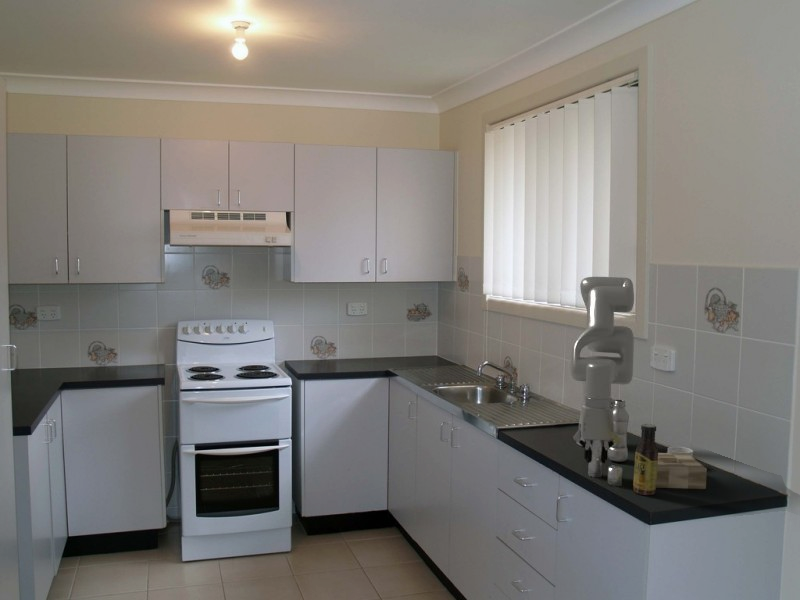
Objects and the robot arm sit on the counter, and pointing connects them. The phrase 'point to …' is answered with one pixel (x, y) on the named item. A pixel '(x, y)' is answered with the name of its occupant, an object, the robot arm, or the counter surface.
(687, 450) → the teacup
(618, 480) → the short pin
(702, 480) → the hole block
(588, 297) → the robot arm
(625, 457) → the plastic bottle
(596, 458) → the long pin
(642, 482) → the sauce bottle
